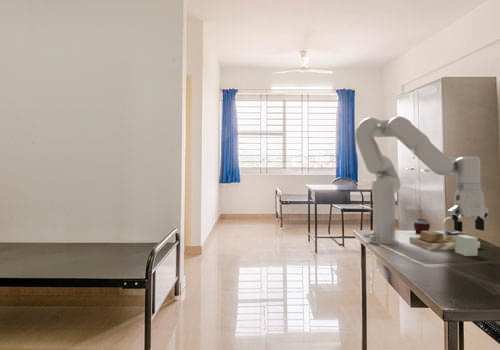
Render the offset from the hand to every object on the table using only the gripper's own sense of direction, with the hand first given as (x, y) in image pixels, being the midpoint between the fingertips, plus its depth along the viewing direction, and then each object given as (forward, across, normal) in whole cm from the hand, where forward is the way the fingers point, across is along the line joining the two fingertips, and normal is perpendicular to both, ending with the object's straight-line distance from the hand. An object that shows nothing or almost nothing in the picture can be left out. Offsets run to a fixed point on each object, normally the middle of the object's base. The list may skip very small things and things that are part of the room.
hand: (469, 230), depth 111 cm
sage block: (+11, -1, +1) cm, 11 cm away
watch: (+10, +16, +25) cm, 31 cm away
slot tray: (+10, 0, +13) cm, 16 cm away
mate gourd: (+10, +7, +35) cm, 37 cm away
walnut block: (+9, -6, +13) cm, 17 cm away
